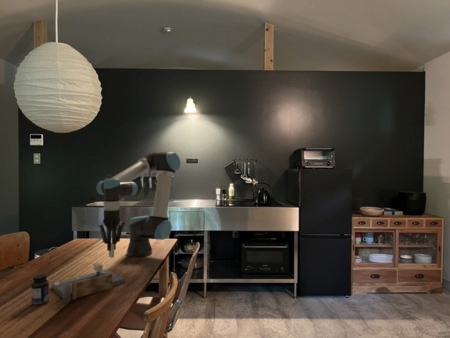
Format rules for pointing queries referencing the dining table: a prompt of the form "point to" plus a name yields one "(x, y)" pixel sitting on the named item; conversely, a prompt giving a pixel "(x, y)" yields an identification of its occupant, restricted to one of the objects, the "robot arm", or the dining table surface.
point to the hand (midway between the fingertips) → (111, 256)
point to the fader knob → (98, 268)
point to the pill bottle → (40, 290)
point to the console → (59, 285)
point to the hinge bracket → (66, 293)
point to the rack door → (91, 286)
